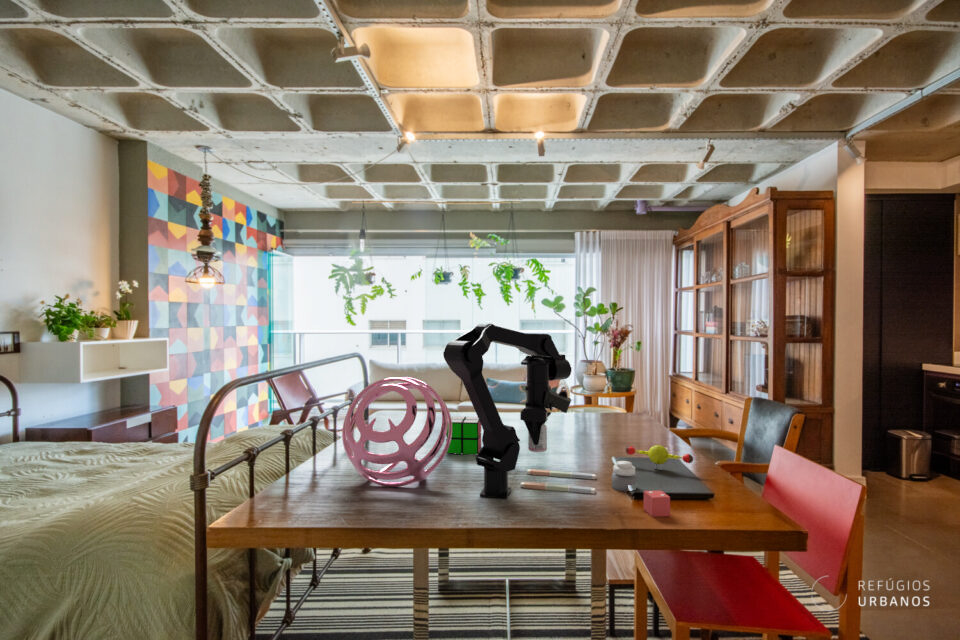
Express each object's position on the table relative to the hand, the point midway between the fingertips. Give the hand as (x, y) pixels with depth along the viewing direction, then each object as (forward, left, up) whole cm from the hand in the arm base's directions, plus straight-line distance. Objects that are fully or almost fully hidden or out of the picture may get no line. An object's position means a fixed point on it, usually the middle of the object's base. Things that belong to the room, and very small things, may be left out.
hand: (537, 442), depth 126 cm
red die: (-15, -28, -10) cm, 33 cm away
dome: (0, -22, -6) cm, 22 cm away
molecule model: (+18, -32, -10) cm, 38 cm away
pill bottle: (0, 0, -2) cm, 2 cm away
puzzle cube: (+24, +26, -10) cm, 37 cm away
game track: (0, -11, -10) cm, 14 cm away
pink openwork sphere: (-10, +35, -10) cm, 38 cm away
